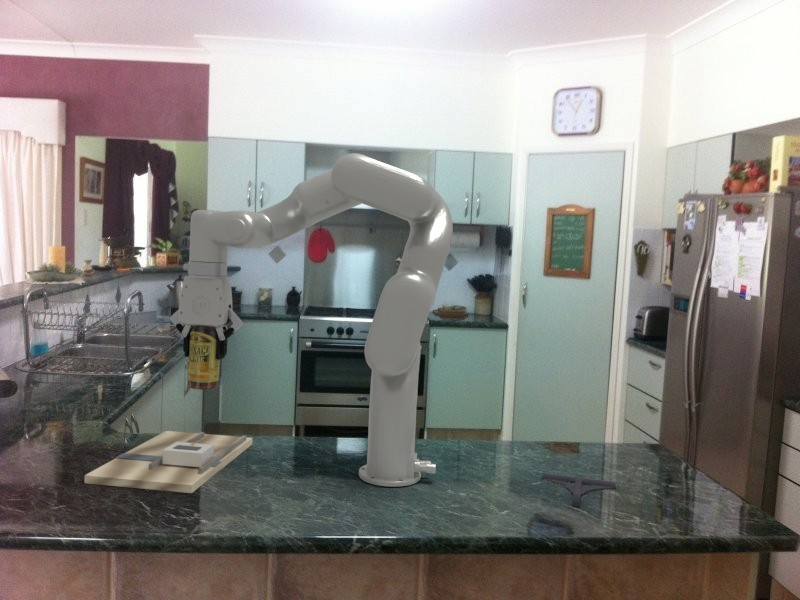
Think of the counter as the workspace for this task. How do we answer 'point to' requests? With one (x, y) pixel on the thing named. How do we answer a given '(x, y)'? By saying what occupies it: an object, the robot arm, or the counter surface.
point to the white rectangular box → (188, 454)
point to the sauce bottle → (203, 358)
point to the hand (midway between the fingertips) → (204, 356)
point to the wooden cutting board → (150, 473)
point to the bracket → (579, 485)
